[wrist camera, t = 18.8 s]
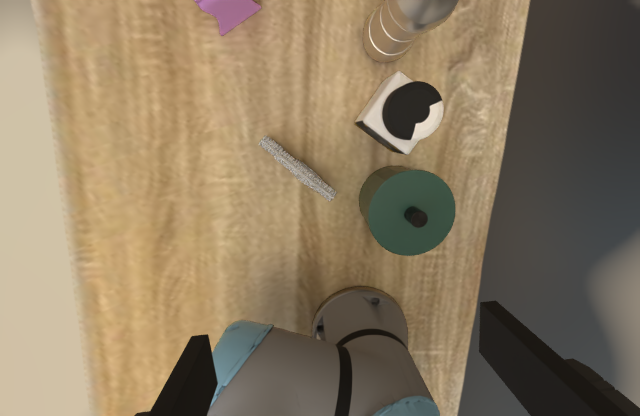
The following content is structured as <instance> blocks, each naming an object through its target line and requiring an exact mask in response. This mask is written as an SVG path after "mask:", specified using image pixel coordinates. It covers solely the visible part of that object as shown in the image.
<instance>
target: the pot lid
mask: <svg viewBox="0 0 640 416" xmlns="http://www.w3.org/2000/svg"><path fill="white" fill-rule="evenodd" d="M454 218H455V201H454V197H453V194H452V192H451V190H450V188H449V187H448V186H447V184H446V183H445V182H444V181H443V180H442V179H441V178H439V177H438V176H436V175H434V174H432V173H430V172H427V171H423V170H406V171H402V172H398V173H396V174H394V175H392V176H390V177H389V178H387V179H386V180H385V181H383V182H382V183H381V184H380V185H379V187H378V188H377V189H376V190H375V192H374V194H373V196H372V198H371V200H370V203H369V207H368V224H369V227H370V230H371V233H372V234H373V236H374V238H375V239H376V240H377V242H378V243H379V244H380V245H381V246H382V247H384V248H385V249H386V250H388V251H390V252H392V253H395V254H399V255H405V256H412V255H419V254H422V253H425V252H427V251H430V250H431V249H433V248H435V247H436V246H437V245H439V244H440V243H441V242H442V241H443V240H444V239H445V237H446V236H447V235H448V233H449V232H450V230H451V228H452V225H453V222H454Z"/></svg>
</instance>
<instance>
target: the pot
mask: <svg viewBox="0 0 640 416" xmlns="http://www.w3.org/2000/svg"><path fill="white" fill-rule="evenodd" d="M406 170H410V169H407V168H404V167H401V166H389V167H384V168H381V169H379V170H377V171H376V172H374V173H373V174H372V175H370V176H369V177H368V178H367V180H366V181H365V183H364V184H363V186H362V188H361V191H360V196H359V206H360V211H361V213H362V215H363V217H364V219H365V221H366V222H367V224H368V207H369V203H370V200H371V198H372V196H373V194H374V192H375V190H376V189H377V188H378V187H379V185H380V184H381V183H382V182H383V181H385V180H386V179H387V178H389V177H390V176H392V175H394V174H396V173H398V172H402V171H406ZM368 225H369V224H368Z"/></svg>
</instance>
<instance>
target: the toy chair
mask: <svg viewBox="0 0 640 416" xmlns="http://www.w3.org/2000/svg"><path fill="white" fill-rule="evenodd" d="M194 1H195V2H196V3H197V5H198V6H199V7H200V9H202V10H203V11H205V12H207V13H209V14H212V15H213V16H215V17H216V18H217V20H218V22H219V28H220V34H221V36H223V35H224V34H226V33H227V32H229V31H230V30H231V29H233V28H234V27H236V26H237V25H239V24H240V23H241V22H243V21H244V20H246V19H247V18H248V17H250V16H251V15H253V14H254V13H256V12H257V11H258V10H260V9H261V6H260V5H259V4H257V3H256V2H254V1H253V0H194Z"/></svg>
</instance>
